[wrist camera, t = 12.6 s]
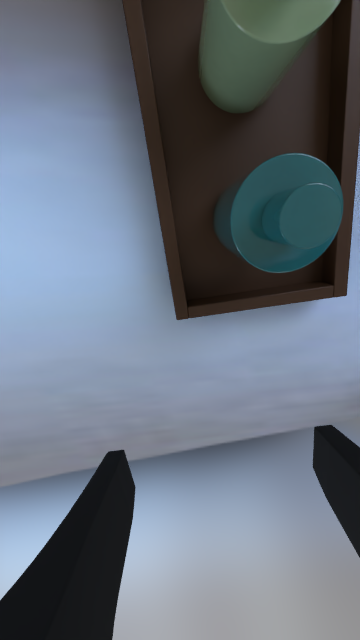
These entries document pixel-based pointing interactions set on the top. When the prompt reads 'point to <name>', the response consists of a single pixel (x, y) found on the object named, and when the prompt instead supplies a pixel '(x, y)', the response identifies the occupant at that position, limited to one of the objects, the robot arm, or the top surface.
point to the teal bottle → (280, 213)
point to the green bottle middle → (254, 46)
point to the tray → (241, 152)
